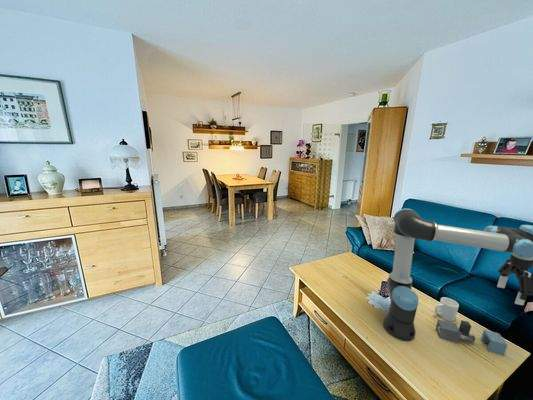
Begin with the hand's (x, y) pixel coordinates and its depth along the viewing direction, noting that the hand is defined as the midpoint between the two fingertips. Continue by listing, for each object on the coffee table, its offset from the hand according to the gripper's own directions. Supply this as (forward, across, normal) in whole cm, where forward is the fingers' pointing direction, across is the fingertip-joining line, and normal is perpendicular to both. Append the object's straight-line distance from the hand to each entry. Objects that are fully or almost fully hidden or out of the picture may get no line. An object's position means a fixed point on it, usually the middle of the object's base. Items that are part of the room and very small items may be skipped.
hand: (509, 295), depth 110 cm
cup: (+27, +9, +20) cm, 35 cm away
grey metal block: (+27, -7, +23) cm, 36 cm away
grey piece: (+26, -7, +20) cm, 33 cm away
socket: (+27, -7, +4) cm, 28 cm away
